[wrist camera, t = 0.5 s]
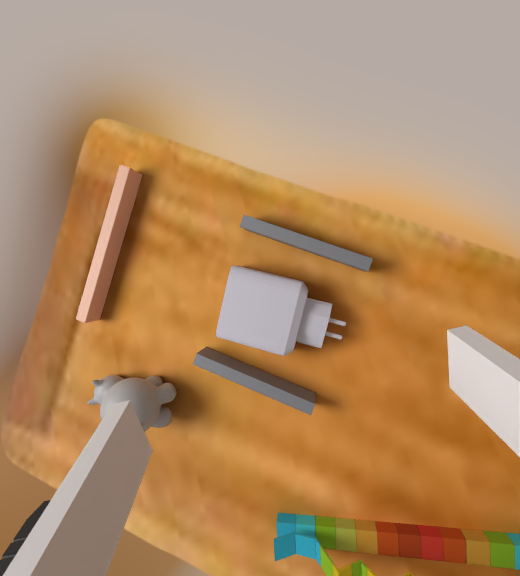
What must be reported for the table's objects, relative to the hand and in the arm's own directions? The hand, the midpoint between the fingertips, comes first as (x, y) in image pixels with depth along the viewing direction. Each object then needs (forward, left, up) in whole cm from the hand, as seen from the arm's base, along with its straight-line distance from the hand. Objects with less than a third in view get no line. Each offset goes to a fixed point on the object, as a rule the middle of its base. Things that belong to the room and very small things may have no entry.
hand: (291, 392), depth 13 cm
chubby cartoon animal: (+18, +20, -28) cm, 39 cm away
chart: (-21, +24, -28) cm, 42 cm away
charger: (+3, +2, -28) cm, 28 cm away
